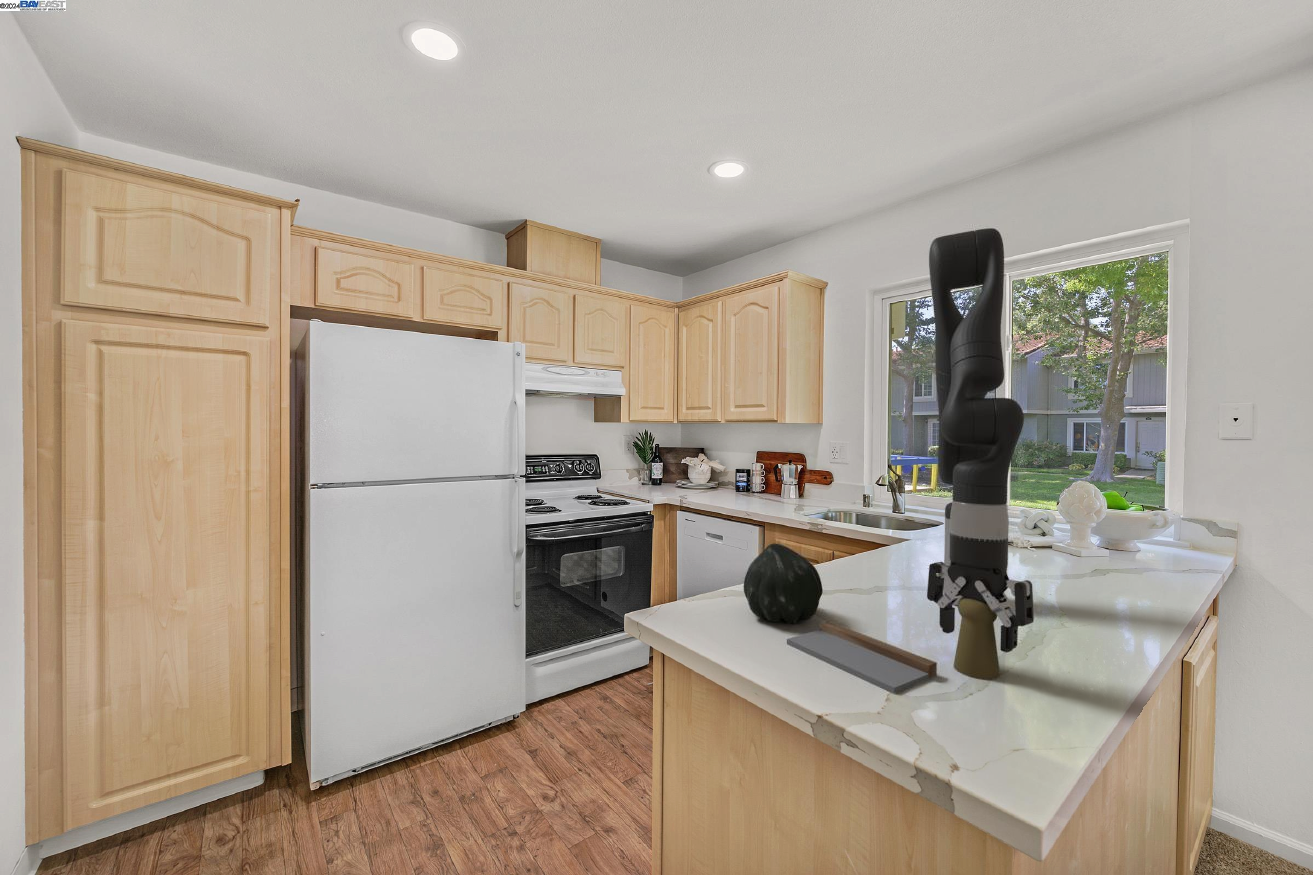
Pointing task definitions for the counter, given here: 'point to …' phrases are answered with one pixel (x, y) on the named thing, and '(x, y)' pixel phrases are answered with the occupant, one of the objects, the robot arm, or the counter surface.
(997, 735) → the counter surface
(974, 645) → the olive pawn-shaped piece
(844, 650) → the slate mat
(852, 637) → the walnut rail
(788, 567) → the squash
